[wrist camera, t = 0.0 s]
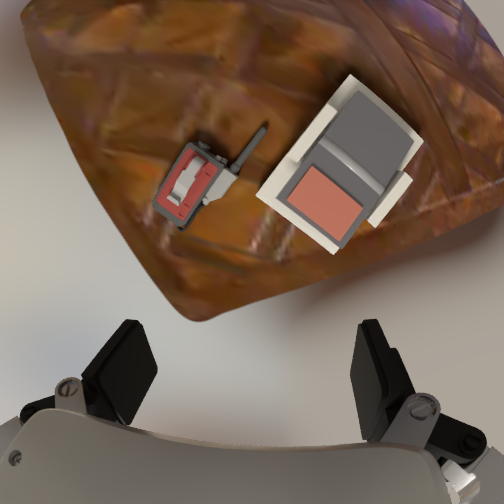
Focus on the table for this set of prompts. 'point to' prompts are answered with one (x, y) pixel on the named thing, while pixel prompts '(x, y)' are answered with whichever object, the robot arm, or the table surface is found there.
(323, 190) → the rocker
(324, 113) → the switch housing
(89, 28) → the table surface
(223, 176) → the walkie-talkie
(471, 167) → the table surface
